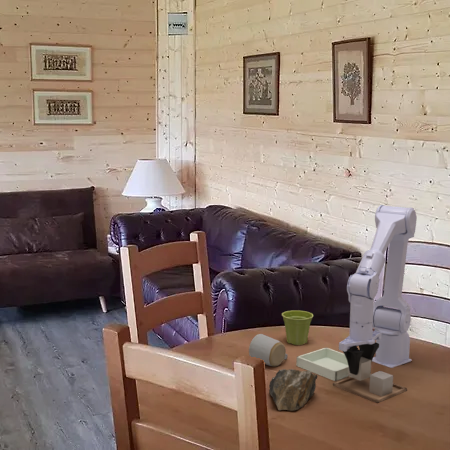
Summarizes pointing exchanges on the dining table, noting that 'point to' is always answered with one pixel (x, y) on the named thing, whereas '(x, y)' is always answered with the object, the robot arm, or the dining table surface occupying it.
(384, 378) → the stone
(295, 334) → the plant pot
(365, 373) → the stone
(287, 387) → the rock
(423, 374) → the dining table surface
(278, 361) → the ceramic mug
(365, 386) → the wooden tray
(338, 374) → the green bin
